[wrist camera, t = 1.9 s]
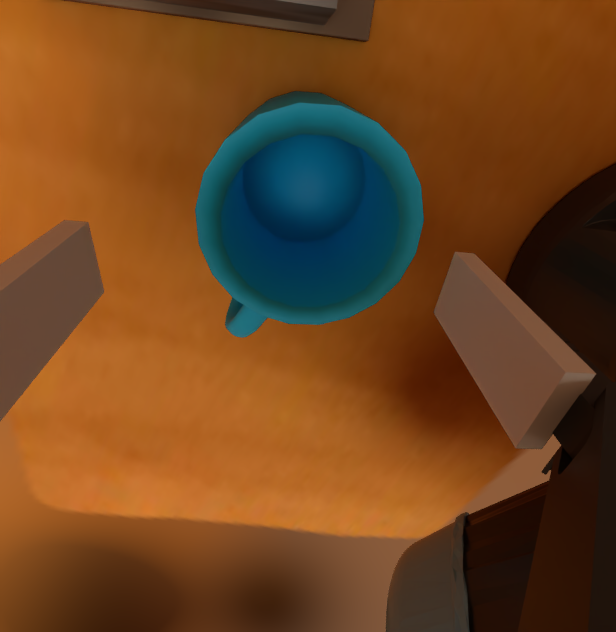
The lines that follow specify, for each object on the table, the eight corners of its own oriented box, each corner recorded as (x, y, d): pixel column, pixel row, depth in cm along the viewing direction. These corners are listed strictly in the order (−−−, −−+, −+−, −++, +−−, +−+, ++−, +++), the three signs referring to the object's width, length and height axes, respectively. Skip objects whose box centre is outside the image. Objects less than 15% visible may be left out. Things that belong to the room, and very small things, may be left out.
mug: (271, 52, 17) (259, 38, 10) (408, 149, 20) (472, 189, 13) (180, 260, 22) (132, 342, 16) (296, 314, 25) (299, 405, 18)
